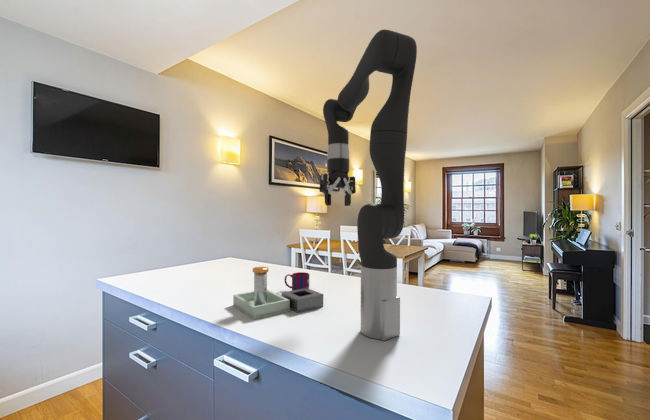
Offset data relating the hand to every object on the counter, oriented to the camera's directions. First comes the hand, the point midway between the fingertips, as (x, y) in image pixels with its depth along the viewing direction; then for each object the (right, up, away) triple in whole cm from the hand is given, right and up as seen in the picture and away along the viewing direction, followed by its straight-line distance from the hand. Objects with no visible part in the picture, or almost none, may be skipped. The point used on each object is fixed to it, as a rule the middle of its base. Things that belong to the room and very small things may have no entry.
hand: (338, 205), depth 103 cm
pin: (-25, -32, -7) cm, 42 cm away
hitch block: (-12, -33, -4) cm, 35 cm away
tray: (-25, -33, -7) cm, 42 cm away
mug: (-15, -33, +13) cm, 39 cm away
